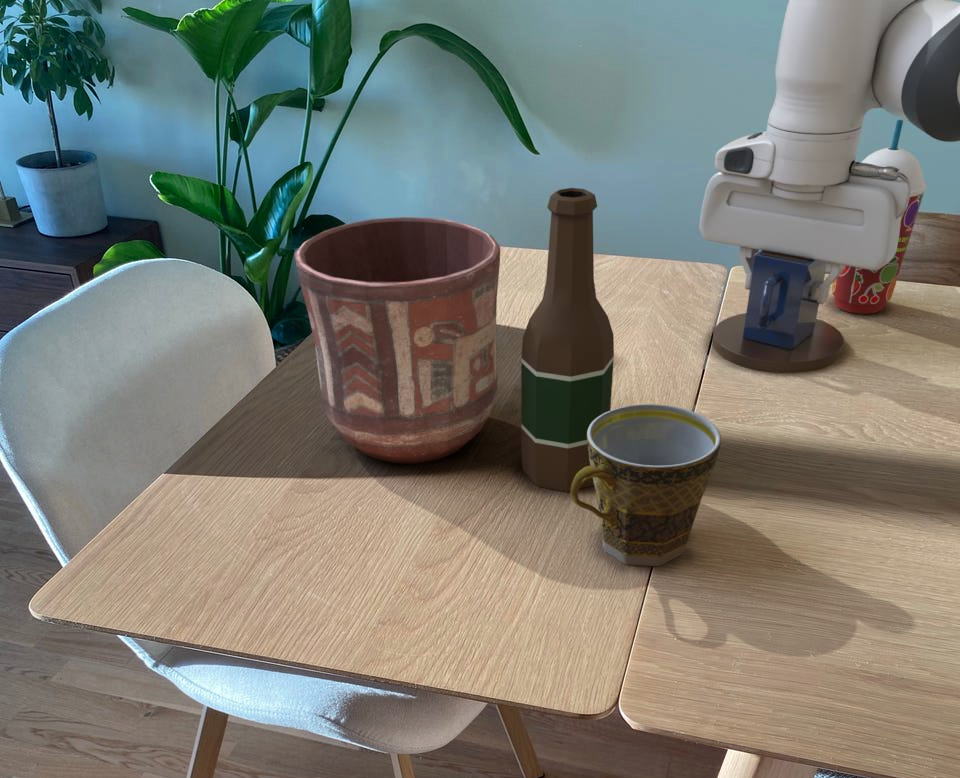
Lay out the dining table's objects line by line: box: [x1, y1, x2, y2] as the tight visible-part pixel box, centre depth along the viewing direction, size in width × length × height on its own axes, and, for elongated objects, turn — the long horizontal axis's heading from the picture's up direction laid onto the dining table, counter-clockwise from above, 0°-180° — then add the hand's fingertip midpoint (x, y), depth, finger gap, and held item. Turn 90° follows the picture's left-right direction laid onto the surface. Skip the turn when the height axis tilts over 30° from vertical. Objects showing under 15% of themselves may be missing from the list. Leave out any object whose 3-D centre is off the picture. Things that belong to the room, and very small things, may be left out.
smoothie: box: [831, 119, 927, 315], centre depth 110 cm, size 8×8×20 cm
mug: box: [743, 250, 827, 350], centre depth 104 cm, size 8×6×9 cm
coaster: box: [712, 312, 845, 374], centre depth 108 cm, size 14×14×1 cm
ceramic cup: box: [569, 403, 722, 567], centre depth 76 cm, size 13×10×10 cm
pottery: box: [294, 216, 501, 465], centre depth 89 cm, size 18×18×18 cm
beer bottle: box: [520, 187, 615, 493], centre depth 81 cm, size 8×8×24 cm
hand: (784, 295), depth 105 cm, fingers closed on mug, 6 cm apart
